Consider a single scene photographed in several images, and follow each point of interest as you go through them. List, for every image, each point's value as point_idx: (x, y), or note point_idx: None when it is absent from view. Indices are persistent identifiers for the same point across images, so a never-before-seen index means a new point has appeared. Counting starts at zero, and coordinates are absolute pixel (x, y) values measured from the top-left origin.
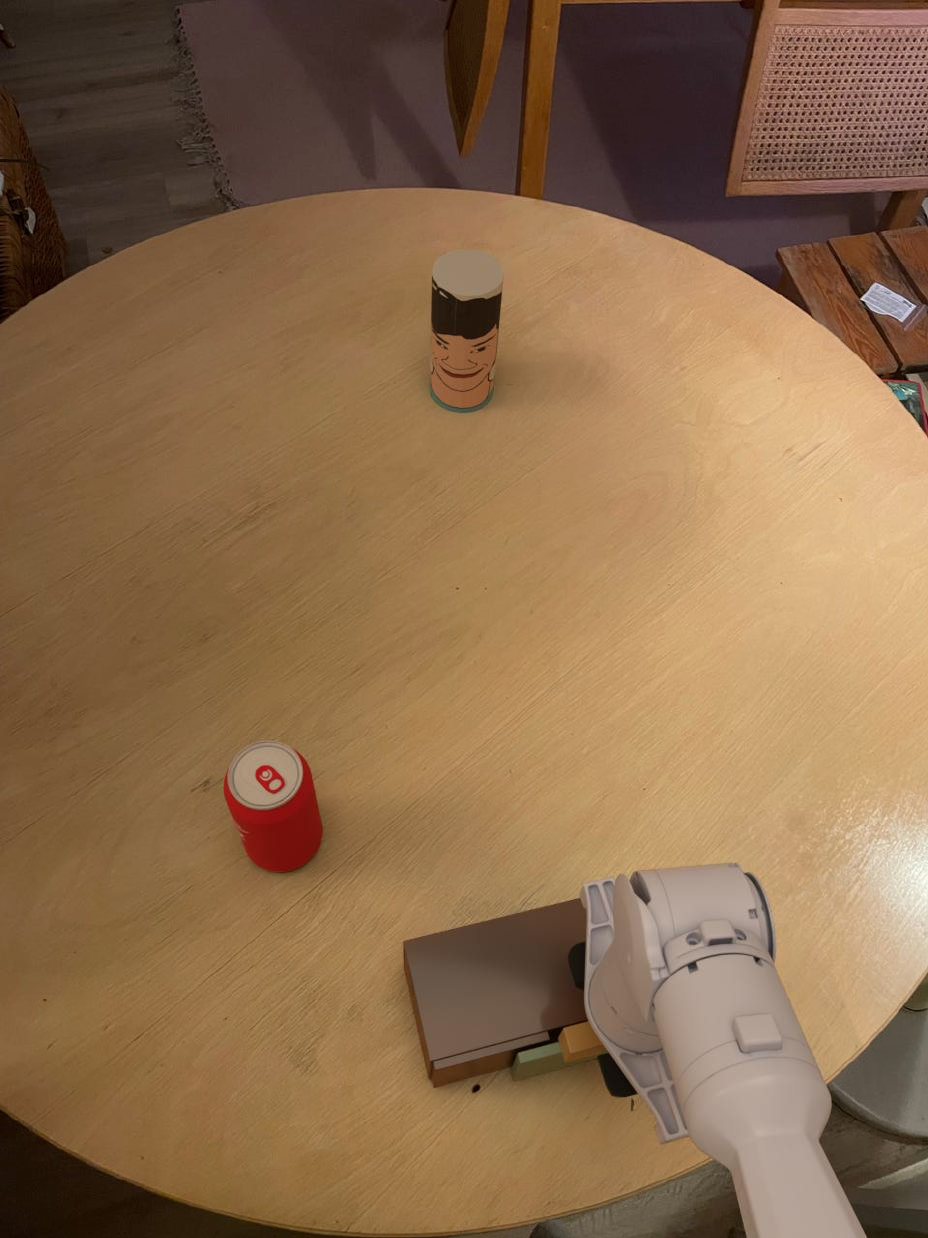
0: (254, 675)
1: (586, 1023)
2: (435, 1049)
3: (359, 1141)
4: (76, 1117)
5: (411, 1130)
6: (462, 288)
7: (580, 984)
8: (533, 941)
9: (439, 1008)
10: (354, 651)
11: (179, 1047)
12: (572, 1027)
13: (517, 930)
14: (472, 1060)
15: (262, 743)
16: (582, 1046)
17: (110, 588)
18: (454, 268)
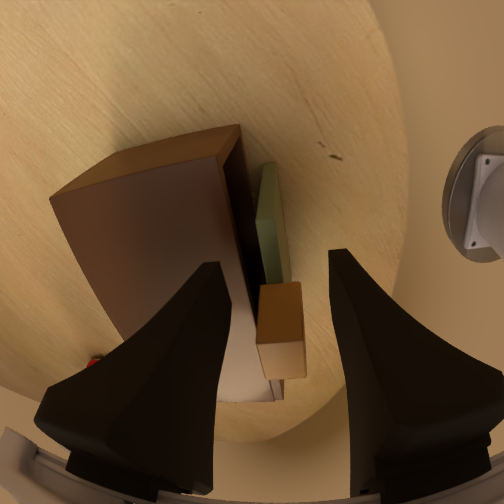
0: (39, 358)
1: (261, 357)
2: (264, 399)
3: (311, 364)
4: (270, 433)
5: (312, 341)
6: None
7: (206, 489)
8: (141, 318)
9: (225, 392)
10: (3, 314)
11: (241, 414)
12: (266, 373)
13: (132, 329)
14: (279, 381)
15: (65, 448)
16: (299, 367)
17: (38, 387)
18: None
